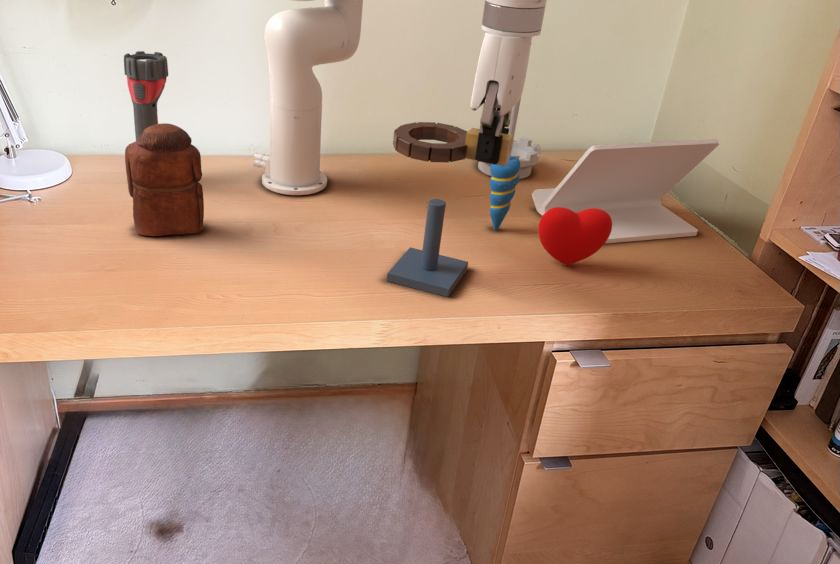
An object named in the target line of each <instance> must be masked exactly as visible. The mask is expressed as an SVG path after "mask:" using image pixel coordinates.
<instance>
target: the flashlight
mask: <svg viewBox="0 0 840 564" xmlns="http://www.w3.org/2000/svg"><path fill="white" fill-rule="evenodd" d="M123 70H124V75H125V76H126V83H127V88H128V92H129V95H130V99H131V102H132V107H133V121H134V123H133V125H134V134H135V141H136V140H137V138H138V136H139V135H140V134H141V133H142V132H143V131H144V130H145V129H146V128H148V127H150V126H152V125H155V124H159V117H158V115H159V114H158V101H159V100H160V98H161V96H162V93H163V91H164V90H165V86H166V82H167V77H169V64H168V58H167V56H166V55H164V54H163V53H162V52H159V51H155V52H154V53H146V52H145V51H143V50H138V51H135V53H132V54H130V52H129V53H125V54H124V55H123Z"/></svg>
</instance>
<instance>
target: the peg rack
mask: <svg viewBox="0 0 840 564" xmlns="http://www.w3.org/2000/svg"><path fill="white" fill-rule="evenodd" d="M446 206H447V203H446V201H445V200H444V199H441V198H431V199H429V200H428V203H427V210H426V219H425V227H424V235H423V244H422V249H418V248H414V247H410V246H409V248H408V249H407V250H406V251H405V252H404V253H403V254H402V256H401V257H400V258H399V259H398V260H397V261H396V263H394V265H393V266H392V267H391V268H390V270H389V271H388V272H387V275H386V276H387V277H386V281H387V282H388V283H393V284H395V285H400V286H404V287H408V288H411V289H415V290H419V291H422V292H427V293H430V294H435V295H437V296H441V297H445V298H449V296H450V295H451V293H452V292H453V291H454V289H455V288H456V286H457V285H458V283H459V282H460V281H461V280H462V278H463V276H464V275H465V273H466V272H467V270H468V268H469V261H468V260H467V261H466V260H463V259H460V258H459V259H458V258H455V257H451V256H447V255H442V254H440V250H441V249H440V248H441V241H442V236H443V228H444V220H445V212H446Z"/></svg>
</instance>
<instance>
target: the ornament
mask: <svg viewBox="0 0 840 564" xmlns="http://www.w3.org/2000/svg"><path fill="white" fill-rule="evenodd" d="M519 169H520V161H519V159H518V158H516V157H514V156H511V155H510V160H509V162H508V163H507V164H506V165H505V166H501V165H496V164H491V167H490V171H491V176H490V178H489V188H490V193H489V202H490V207H489V216H490V219H491V222H492V227H493V230H494V231H498V230H499V229H500V228H501V225H502V223H503V221H504V220H505V218H506V216H507V214H508V212H509V210H510V208H511V204H512V203H511V202H512V201H513V198H514V196H515V193H516V187H517V185H518V184H519V181H520V179H519V178H520V175H519V172H518V171H519Z"/></svg>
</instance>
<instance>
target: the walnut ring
mask: <svg viewBox="0 0 840 564" xmlns="http://www.w3.org/2000/svg"><path fill="white" fill-rule="evenodd" d="M479 129H480V128H476V127H471V128H470V129H468V131H467V130H465V129H463V128H461V127H458V126H455V125H452V124H446V123H442V122H437V123H436V122H435V121H434V122H432V121H431V122H430V121H417V122H416V121H415V122H411V123H410V122H409V123H405V124H402V125H399V126H398V127H396V128H395V129H394V130H393V141H392V144H393V148H394V150H395V151H396V152H397V153H399V154H401V155H403V156H405V157H407V158H410V159H413V160H417V161H422V162H427V163H428V162H430V163H454V162H458V161H459V162H460V161H463V160H465V159H467V160H472V161H476V160H475V155H476V149H477V142H478V135H479ZM501 135H503V138H502V144H501V150H500V156H499V161H498V163H497V164H496V165H501V166H505V165H506V164H507V163H508V162H509V160H510V154H511V149H512V143H513V140H514V139H513V137H514V138H515V135H514V136H513V135H508V134H503V133H501ZM429 141H437V142H438V143H437V142H435V143H434V142H433V143H432V142H429ZM439 142H440V143H439ZM441 142H443V143H441Z"/></svg>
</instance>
